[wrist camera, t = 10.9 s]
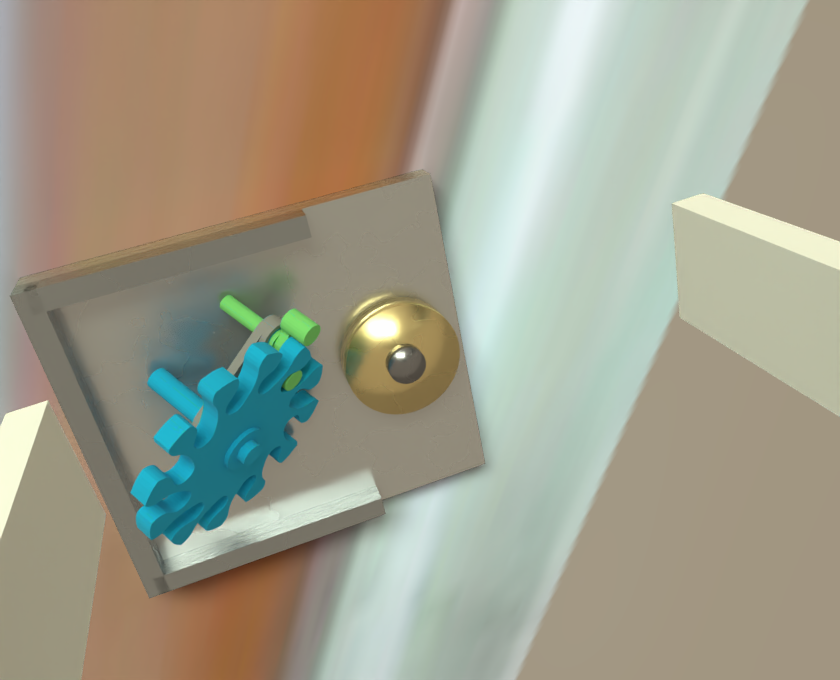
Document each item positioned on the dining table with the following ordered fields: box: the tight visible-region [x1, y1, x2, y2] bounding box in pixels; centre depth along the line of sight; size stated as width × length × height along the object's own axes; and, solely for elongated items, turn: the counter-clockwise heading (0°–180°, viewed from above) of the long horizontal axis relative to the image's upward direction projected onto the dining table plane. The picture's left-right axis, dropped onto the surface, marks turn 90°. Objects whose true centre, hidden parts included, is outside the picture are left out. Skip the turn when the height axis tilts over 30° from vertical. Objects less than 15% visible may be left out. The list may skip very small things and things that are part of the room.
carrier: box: [10, 170, 485, 598], centre depth 36 cm, size 18×16×3 cm
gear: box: [130, 295, 323, 545], centre depth 33 cm, size 11×6×10 cm
